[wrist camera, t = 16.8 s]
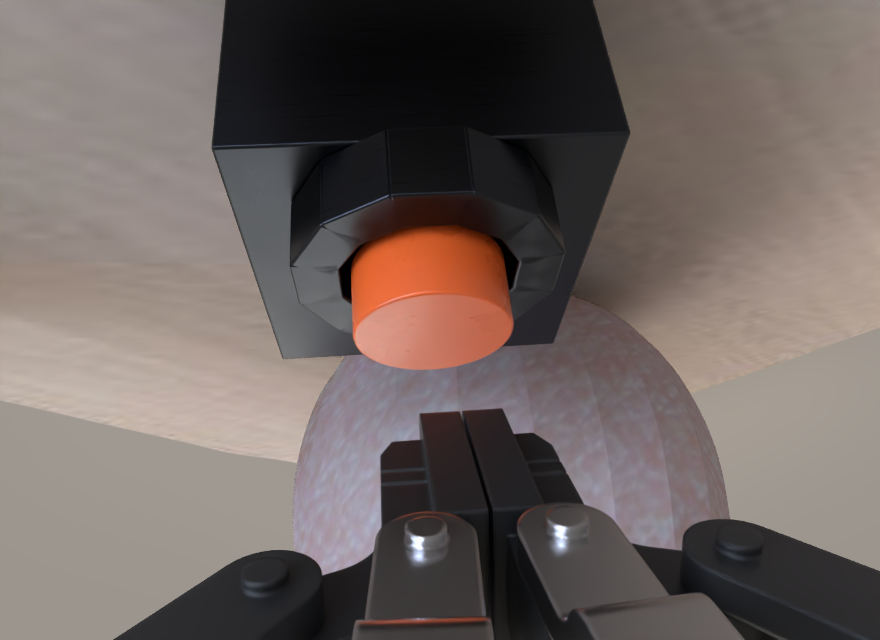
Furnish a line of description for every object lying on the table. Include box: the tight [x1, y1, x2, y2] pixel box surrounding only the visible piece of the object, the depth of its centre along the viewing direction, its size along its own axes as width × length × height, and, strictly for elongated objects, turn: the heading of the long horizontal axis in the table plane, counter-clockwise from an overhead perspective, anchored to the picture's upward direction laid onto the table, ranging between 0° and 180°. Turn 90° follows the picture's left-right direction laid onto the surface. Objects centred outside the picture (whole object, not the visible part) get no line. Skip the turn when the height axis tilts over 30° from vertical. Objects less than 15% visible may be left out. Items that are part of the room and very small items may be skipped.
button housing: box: [212, 0, 630, 359], centre depth 24 cm, size 10×11×13 cm
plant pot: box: [293, 295, 730, 575], centre depth 40 cm, size 24×24×30 cm
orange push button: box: [351, 225, 514, 370], centre depth 19 cm, size 4×4×2 cm
